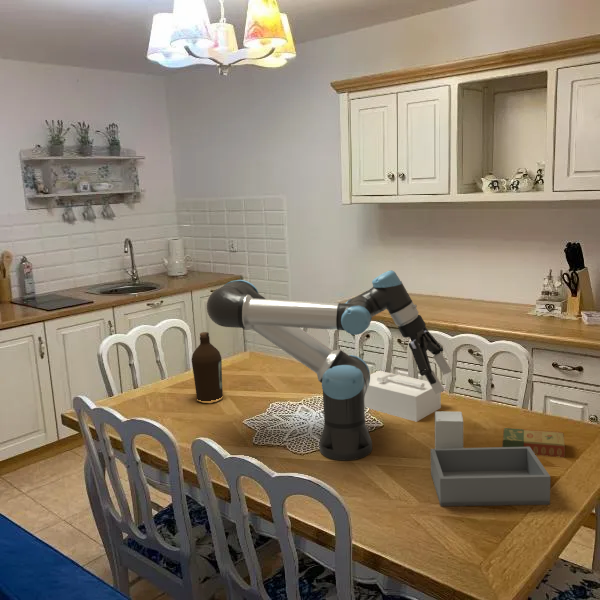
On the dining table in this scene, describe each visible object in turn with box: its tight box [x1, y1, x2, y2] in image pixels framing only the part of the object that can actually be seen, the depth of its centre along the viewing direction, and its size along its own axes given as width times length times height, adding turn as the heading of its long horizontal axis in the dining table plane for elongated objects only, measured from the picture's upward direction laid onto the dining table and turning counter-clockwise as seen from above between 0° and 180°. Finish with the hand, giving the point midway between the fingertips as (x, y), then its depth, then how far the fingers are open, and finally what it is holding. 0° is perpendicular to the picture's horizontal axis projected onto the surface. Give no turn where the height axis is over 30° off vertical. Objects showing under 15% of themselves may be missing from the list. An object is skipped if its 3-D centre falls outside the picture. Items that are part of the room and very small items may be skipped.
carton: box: [501, 427, 566, 458], centre depth 172 cm, size 8×16×4 cm, turn 70°
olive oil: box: [191, 331, 224, 401], centre depth 222 cm, size 11×11×25 cm
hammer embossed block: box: [364, 370, 442, 423], centre depth 207 cm, size 14×25×11 cm, turn 46°
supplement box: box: [434, 410, 464, 449], centre depth 167 cm, size 7×7×13 cm
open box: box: [430, 446, 551, 507], centre depth 151 cm, size 25×16×7 cm, turn 86°
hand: (444, 382), depth 182 cm, fingers open, 13 cm apart
